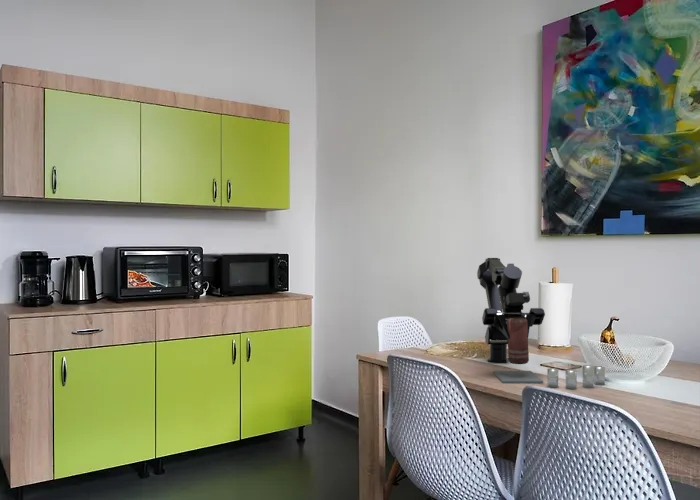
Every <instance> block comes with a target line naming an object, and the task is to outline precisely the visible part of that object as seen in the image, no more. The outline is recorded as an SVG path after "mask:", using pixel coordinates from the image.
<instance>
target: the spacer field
mask: <svg viewBox="0 0 700 500" xmlns="http://www.w3.org/2000/svg"><path fill="white" fill-rule="evenodd" d="M581 369H582V374H581V375H582V387H583V388H587V389H592V388H594V387H595V386H594V385H596V386H604V385H606V367H605V366H604V367H602V366H593V365H591V364H583V365H582V368H581ZM577 372H578V371H577V370H576V369H569V368H568V369H565V389H567V390H576V388H577V389H578V387H577V386H578V385H577V382H578V380H577ZM547 387H548V388H553V389H555V388H559V369H558V368H555V367H548V368H547Z"/></svg>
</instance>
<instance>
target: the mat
mask: <svg viewBox="0 0 700 500" xmlns="http://www.w3.org/2000/svg"><path fill="white" fill-rule="evenodd" d="M492 373H493V375H495V377H497V379H498V380H499V381H500V382H501V383H502V384H544V380H543V379H541V378H540V377H539V376H537V375H536V374H535V373H534V372H533V371H532V370H492Z"/></svg>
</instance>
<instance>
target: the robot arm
mask: <svg viewBox="0 0 700 500" xmlns="http://www.w3.org/2000/svg"><path fill="white" fill-rule="evenodd" d="M506 265H507V266H505V265H504V264H503V263H502V262H501V258H499V257H487V258H485V259H484V262H482V263H481V264H479V265H478V268H477V272H476V275H477V280H479V284H480V286H481V287H482V288H483V289H484V290H485V293H486V294H485V295H486V299H487V300H486V301H487V306H488V308H484V310H483V313H482V318H481V319H482V324H483V325H484V326H487V327H486V331H485V336H484V339H485V340H484V341H485V343H486V344H487V345H490V346H489V347H490V348H489V349H490V350H489V353H490V354H489V358H488V359H487V362H491V363H492V362H493V363H502V364H503V363H508V362H509V360H508V339H510V335H509V332H508V329H507V320H508V318H509V317H525V318H526V319H527V327H528V336H527V338H528V339H529V336H530V335H529V334H530V328H532V327H533V326H540V325H542V324H543V322H544V318H545V316H546V313H545V312H546V311H545V310H544V309H543V308H541V307H531V308H530V309H529V312H523V310H524V304H529V302H530V301H531V297H530V293H529V291H522V292H517V289H518V288H519V286H520V282H521V278H522V275H523V271H522V269H520V268H519V267H518V266H515V264H514V263H507V264H506Z"/></svg>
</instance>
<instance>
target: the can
mask: <svg viewBox="0 0 700 500" xmlns="http://www.w3.org/2000/svg"><path fill="white" fill-rule="evenodd" d="M507 329H508V332H509V335H510V339H508V344H507V358H508V362H509V363H510V364H513V365H524V364H525V365H526V364H528V363H529V361H530V355H529V335H528V327H527V319H526V318H525V317H509V318H508V320H507ZM527 336H528V338H527Z"/></svg>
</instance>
